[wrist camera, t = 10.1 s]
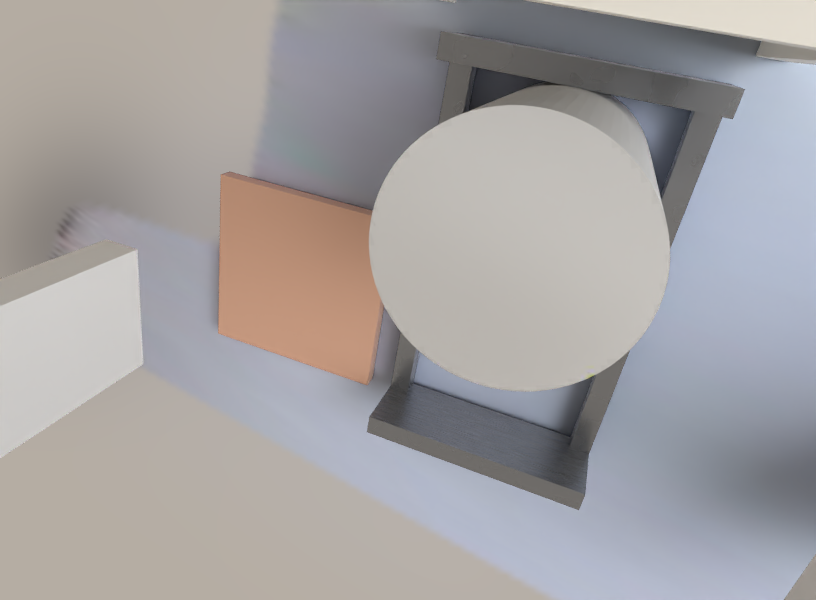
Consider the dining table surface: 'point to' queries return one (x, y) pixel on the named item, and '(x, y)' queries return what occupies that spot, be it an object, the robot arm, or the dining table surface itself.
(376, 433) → the frame
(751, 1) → the shelf
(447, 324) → the cup
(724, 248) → the dining table surface
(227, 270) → the coaster
